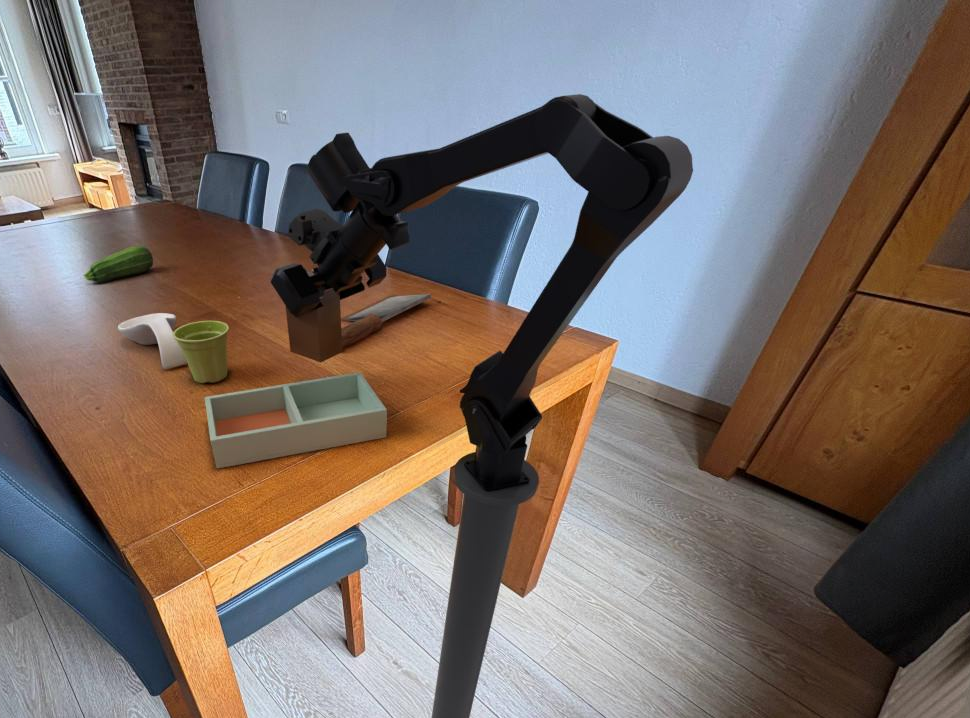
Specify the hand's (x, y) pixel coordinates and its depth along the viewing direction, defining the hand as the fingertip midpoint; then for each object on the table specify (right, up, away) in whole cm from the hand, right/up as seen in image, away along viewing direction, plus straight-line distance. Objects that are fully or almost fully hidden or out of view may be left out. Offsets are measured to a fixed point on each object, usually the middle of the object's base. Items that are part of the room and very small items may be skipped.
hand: (306, 309), depth 79 cm
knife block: (+1, -6, +3) cm, 7 cm away
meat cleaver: (+12, +7, +31) cm, 34 cm away
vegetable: (-57, +32, +67) cm, 94 cm away
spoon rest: (-31, 0, +25) cm, 40 cm away
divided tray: (-2, -19, -3) cm, 19 cm away
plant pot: (-18, -8, +13) cm, 24 cm away
